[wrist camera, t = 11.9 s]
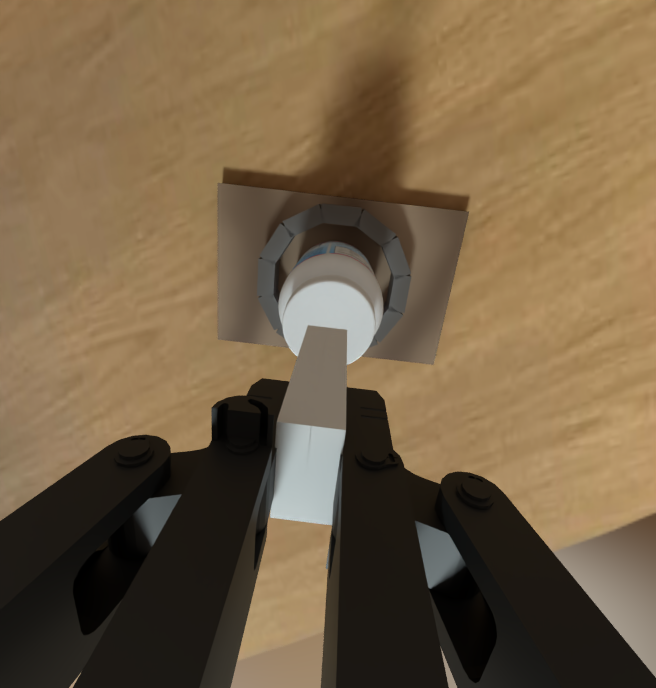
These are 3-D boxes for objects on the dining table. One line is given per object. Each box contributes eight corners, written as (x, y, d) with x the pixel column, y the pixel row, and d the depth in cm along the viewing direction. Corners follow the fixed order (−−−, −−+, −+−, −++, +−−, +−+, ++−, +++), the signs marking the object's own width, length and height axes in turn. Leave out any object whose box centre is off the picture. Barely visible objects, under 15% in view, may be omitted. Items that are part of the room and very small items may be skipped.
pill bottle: (302, 322, 30) (278, 388, 20) (288, 245, 28) (254, 273, 17) (377, 313, 29) (395, 376, 19) (369, 234, 27) (384, 255, 17)
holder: (221, 335, 32) (209, 348, 29) (222, 183, 27) (207, 181, 25) (430, 359, 32) (439, 375, 29) (464, 211, 27) (478, 212, 25)
